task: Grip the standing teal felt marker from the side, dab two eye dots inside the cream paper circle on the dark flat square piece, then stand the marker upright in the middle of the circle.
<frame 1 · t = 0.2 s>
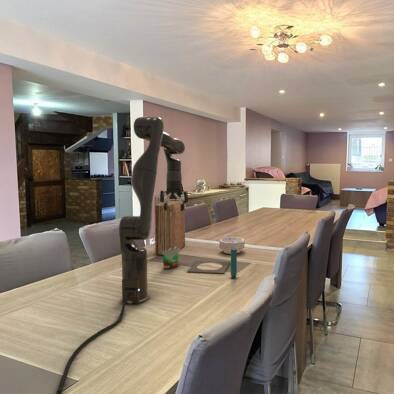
hand: (174, 210, 175), 29 cm above the table, tool pointing down, fingers open, 8 cm apart
potted plant: (173, 267, 176), on the table
paper bowls: (231, 252, 206), on the table
marker: (233, 277, 160), on the table
brown wooden block: (171, 250, 208), on the table
dark flat square piece: (209, 267, 175), on the table
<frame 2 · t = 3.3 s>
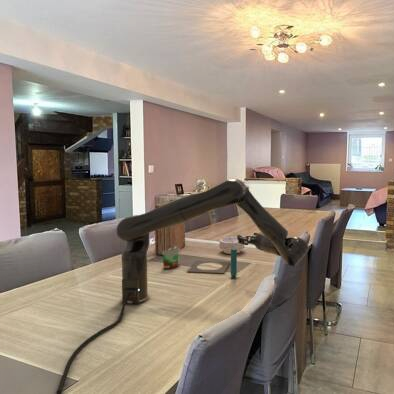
hand: (246, 236, 149), 22 cm above the table, tool horizontal, fingers open, 8 cm apart
nothing on the table moved.
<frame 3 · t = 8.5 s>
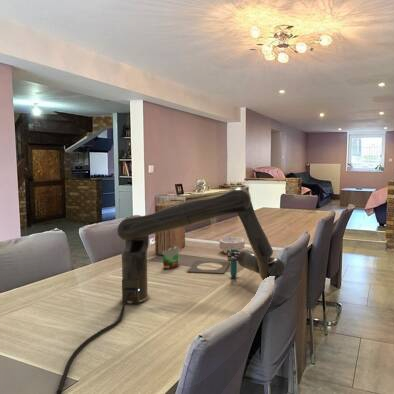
hand: (230, 251, 161), 12 cm above the table, tool horizontal, fingers closed on marker, 2 cm apart
marker: (233, 277, 160), on the table, touching gripper
everything else where it was.
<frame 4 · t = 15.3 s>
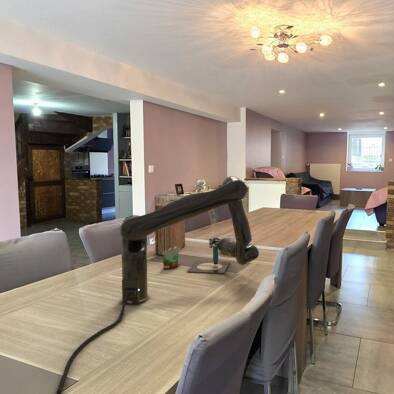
hand: (213, 240, 178), 14 cm above the table, tool horizontal, fingers closed on marker, 2 cm apart
marker: (215, 263, 177), point 2 cm above the table, touching gripper
everything else where it was.
when the fingers open (13 cm above the table, at t = 22.2 s): marker stays where it is, resting on dark flat square piece.
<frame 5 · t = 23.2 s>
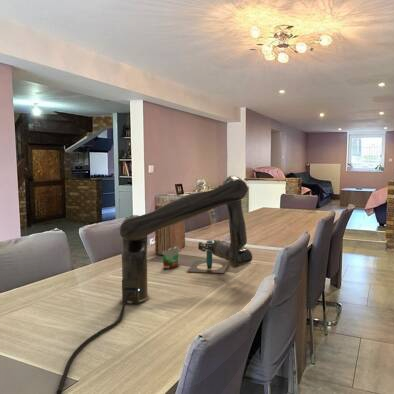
hand: (207, 243, 173), 13 cm above the table, tool horizontal, fingers open, 8 cm apart
marker: (209, 267, 173), point 1 cm above the table, touching dark flat square piece
everything else where it was.
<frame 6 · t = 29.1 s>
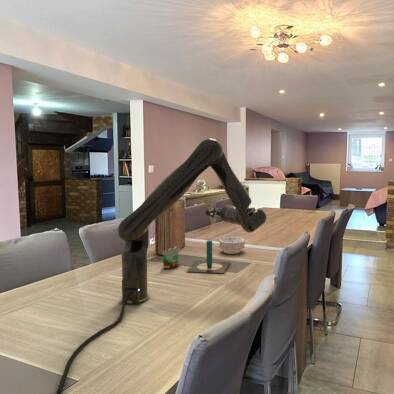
hand: (215, 210, 159), 32 cm above the table, tool horizontal, fingers open, 8 cm apart
nothing on the table moved.
at the end: marker 0.5 cm from the target spot, point 0.7 cm above the table; marker tilted 0°; the gripper is holding nothing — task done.
